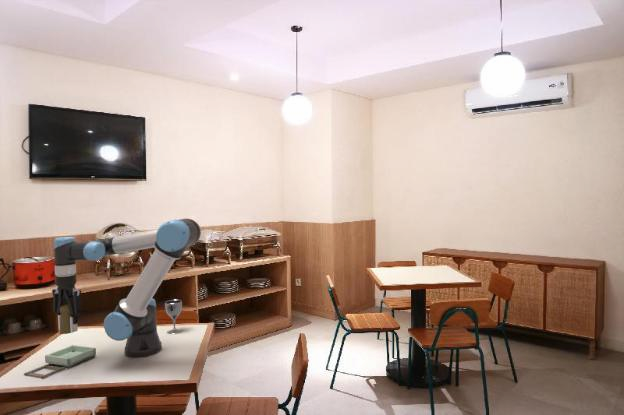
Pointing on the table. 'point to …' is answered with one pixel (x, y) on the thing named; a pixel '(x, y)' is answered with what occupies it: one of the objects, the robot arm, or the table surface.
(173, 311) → the wine glass
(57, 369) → the rails
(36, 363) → the table surface
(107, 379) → the table surface
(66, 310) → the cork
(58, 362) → the shallow green tray
